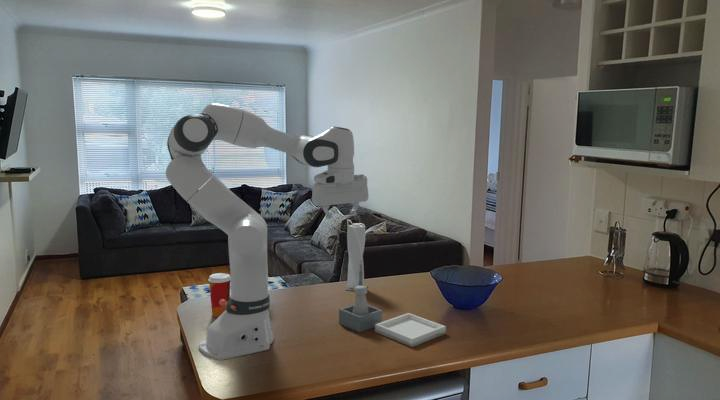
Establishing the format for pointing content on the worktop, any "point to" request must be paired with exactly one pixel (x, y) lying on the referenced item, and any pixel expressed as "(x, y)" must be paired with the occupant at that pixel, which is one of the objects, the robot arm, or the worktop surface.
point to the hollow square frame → (360, 318)
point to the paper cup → (219, 292)
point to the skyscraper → (355, 255)
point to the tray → (410, 329)
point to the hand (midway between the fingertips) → (341, 216)
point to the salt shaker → (360, 301)
